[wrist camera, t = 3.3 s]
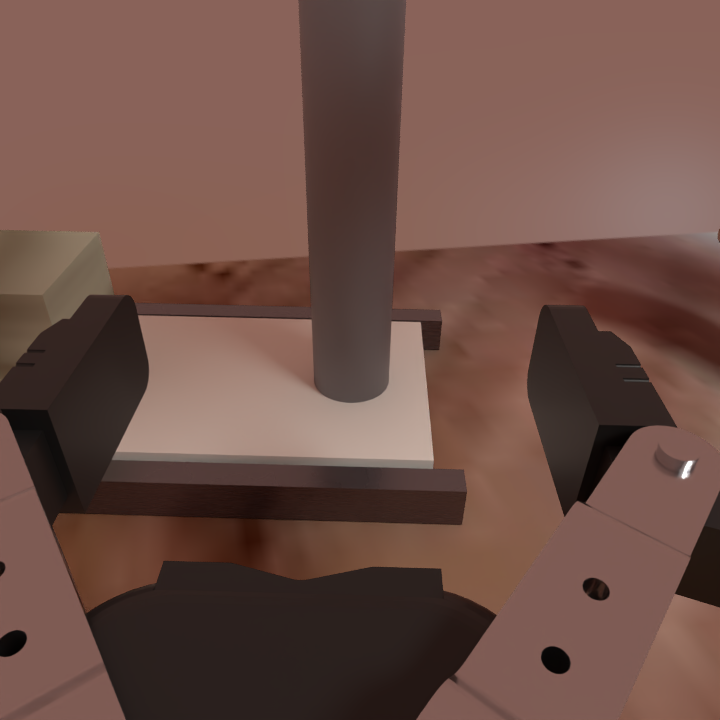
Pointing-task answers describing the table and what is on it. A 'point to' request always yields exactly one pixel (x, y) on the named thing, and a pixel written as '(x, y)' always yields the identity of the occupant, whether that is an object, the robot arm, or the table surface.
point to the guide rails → (283, 467)
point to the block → (44, 284)
